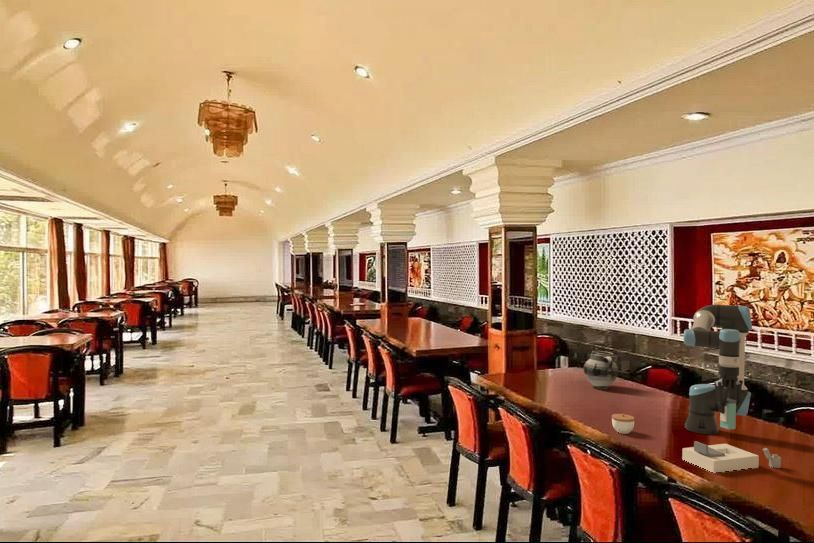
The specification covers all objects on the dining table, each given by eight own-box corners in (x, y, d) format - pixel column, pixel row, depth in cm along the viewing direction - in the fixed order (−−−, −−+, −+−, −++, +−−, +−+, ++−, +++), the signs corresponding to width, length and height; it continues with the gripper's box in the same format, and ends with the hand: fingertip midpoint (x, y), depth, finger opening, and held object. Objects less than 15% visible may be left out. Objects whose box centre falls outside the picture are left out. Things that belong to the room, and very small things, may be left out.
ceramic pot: (575, 383, 385) (576, 348, 384) (605, 383, 387) (606, 348, 387) (594, 393, 356) (595, 355, 356) (627, 392, 359) (628, 355, 359)
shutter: (708, 449, 232) (709, 438, 232) (724, 455, 224) (725, 444, 224) (692, 450, 229) (692, 440, 229) (707, 457, 222) (707, 446, 222)
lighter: (777, 466, 227) (778, 447, 227) (781, 467, 225) (781, 448, 225) (761, 466, 226) (762, 447, 226) (765, 468, 225) (765, 449, 224)
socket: (725, 454, 240) (725, 443, 240) (758, 467, 225) (758, 455, 225) (682, 459, 233) (682, 448, 233) (713, 473, 218) (713, 461, 218)
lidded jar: (620, 436, 265) (620, 417, 265) (607, 429, 275) (607, 411, 275) (639, 434, 268) (639, 415, 268) (624, 428, 278) (625, 410, 278)
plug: (727, 426, 232) (727, 398, 232) (735, 428, 228) (736, 400, 228) (719, 426, 231) (720, 398, 231) (728, 429, 227) (728, 401, 227)
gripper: (720, 368, 223) (719, 424, 224) (752, 366, 229) (751, 421, 229) (705, 365, 231) (704, 419, 231) (736, 363, 236) (735, 416, 236)
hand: (727, 420), depth 230 cm, fingers closed on plug, 4 cm apart
